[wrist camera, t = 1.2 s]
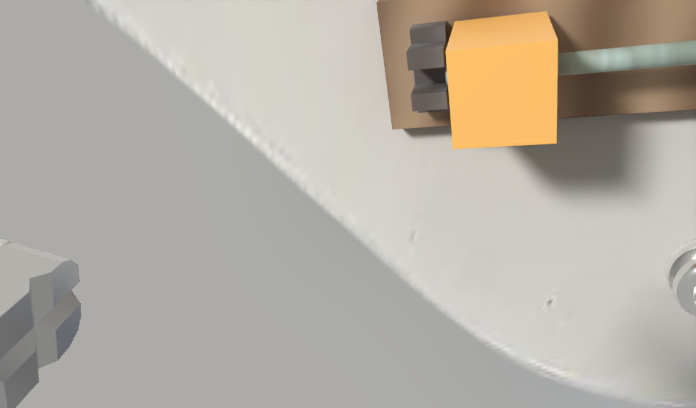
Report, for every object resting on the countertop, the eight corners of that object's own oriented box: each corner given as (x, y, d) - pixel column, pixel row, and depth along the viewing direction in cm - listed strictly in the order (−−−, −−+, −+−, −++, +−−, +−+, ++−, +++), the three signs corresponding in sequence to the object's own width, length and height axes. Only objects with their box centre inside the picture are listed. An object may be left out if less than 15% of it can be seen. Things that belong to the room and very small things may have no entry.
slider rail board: (896, -68, 28) (1003, -56, 22) (856, 89, 32) (939, 136, 26) (381, -2, 35) (357, 21, 29) (395, 121, 39) (377, 164, 33)
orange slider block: (546, 11, 32) (558, 39, 26) (546, 98, 34) (556, 143, 28) (454, 21, 33) (445, 51, 27) (460, 104, 35) (452, 149, 29)
